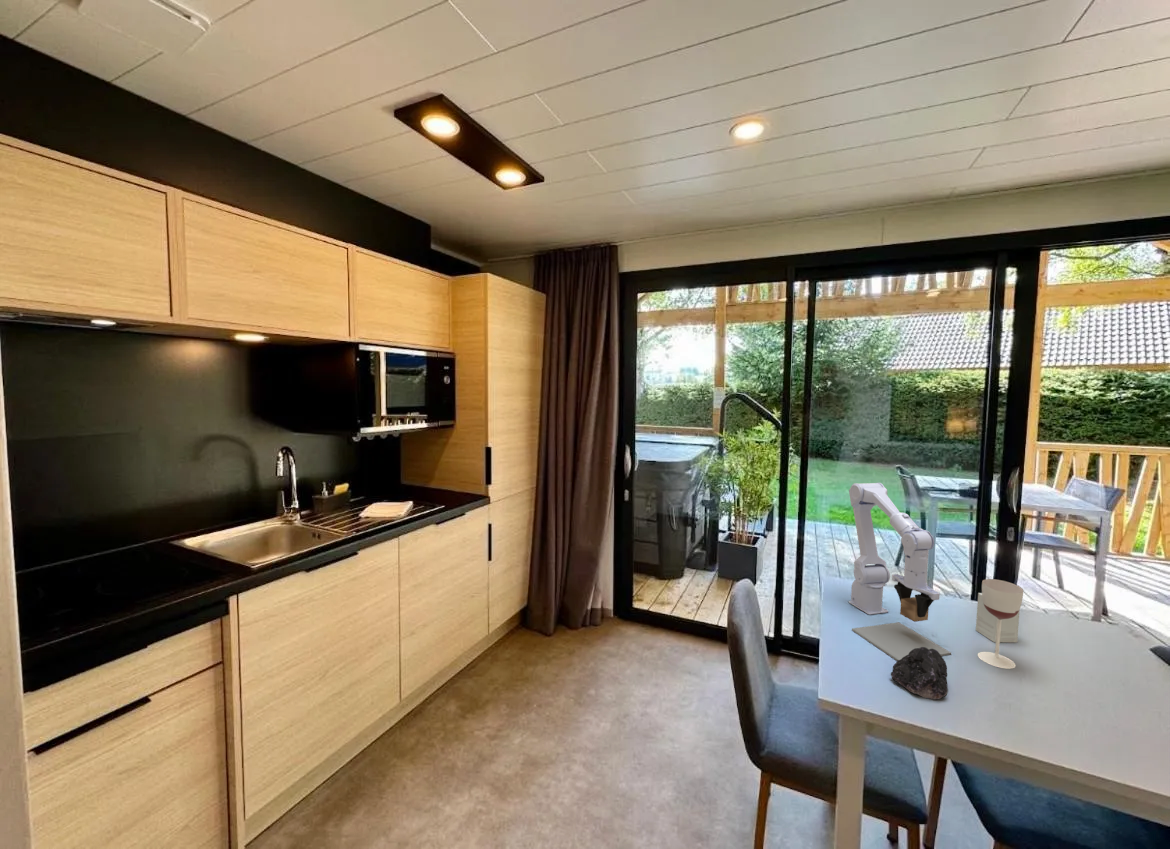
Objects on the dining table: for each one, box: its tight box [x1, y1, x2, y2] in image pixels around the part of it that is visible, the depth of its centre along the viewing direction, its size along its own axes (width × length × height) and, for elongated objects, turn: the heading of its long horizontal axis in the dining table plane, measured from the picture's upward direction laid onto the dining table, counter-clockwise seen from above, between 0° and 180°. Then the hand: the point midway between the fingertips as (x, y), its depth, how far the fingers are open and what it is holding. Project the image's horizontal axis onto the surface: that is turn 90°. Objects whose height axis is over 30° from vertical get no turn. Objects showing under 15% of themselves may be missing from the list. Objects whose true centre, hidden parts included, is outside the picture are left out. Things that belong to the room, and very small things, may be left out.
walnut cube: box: [900, 596, 930, 623], centre depth 148 cm, size 5×5×5 cm
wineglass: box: [977, 578, 1024, 670], centre depth 136 cm, size 9×10×22 cm
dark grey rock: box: [890, 647, 948, 700], centre depth 126 cm, size 13×14×10 cm
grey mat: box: [851, 621, 952, 662], centre depth 147 cm, size 18×18×1 cm
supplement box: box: [975, 592, 1021, 643], centre depth 149 cm, size 7×7×13 cm
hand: (913, 612), depth 148 cm, fingers closed on walnut cube, 5 cm apart
